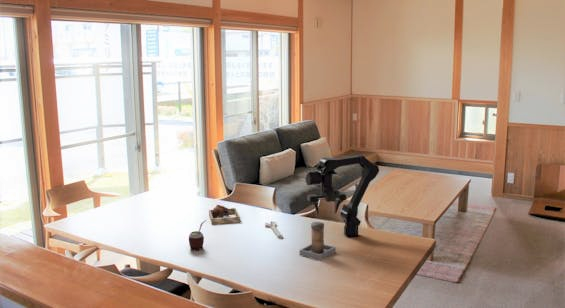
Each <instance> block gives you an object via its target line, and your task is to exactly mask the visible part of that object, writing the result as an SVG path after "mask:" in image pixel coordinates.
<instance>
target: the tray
mask: <svg viewBox="0 0 565 308" xmlns="http://www.w3.org/2000/svg"><path fill="white" fill-rule="evenodd" d="M334 253H336V246H334V245H328V244H324V252H323V253H322V254H317V253H313V252H312V243H311V244H309V245H307V246H305V247H303V248H301V249H299V256H302V255H303V257H306V256H308V257H307V258H310V257H311V258H310V259H314V258H315V259H314V260H317V259H318V261H322V260H324V259H326V258H328V257H330V256H331V255H333V254H334Z"/></svg>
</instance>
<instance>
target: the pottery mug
mask: <svg viewBox="0 0 565 308" xmlns="http://www.w3.org/2000/svg"><path fill="white" fill-rule="evenodd" d="M212 210H213V212H212V217H213V218H224V215H225V214H224V212H225V213H227V214H226V216H227V217H229V215H230V214H229V212H228V210H229V208H228V207H225V206H223V205H221V204H216V205H215V207H214V208H213V209H212ZM218 210H219V212H218Z"/></svg>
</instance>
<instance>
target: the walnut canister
mask: <svg viewBox="0 0 565 308" xmlns="http://www.w3.org/2000/svg"><path fill="white" fill-rule="evenodd" d="M310 228H311V244H312V252H313V253H317V254H322V253H323V252H324V245H325V239H324V238H325V233H324V232H325V230H324V229H325V223H324V222H322V221H313V222H311V224H310Z"/></svg>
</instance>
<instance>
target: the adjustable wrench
mask: <svg viewBox="0 0 565 308" xmlns="http://www.w3.org/2000/svg"><path fill="white" fill-rule="evenodd" d="M264 227H265V228H268V229H271V231H272V232H273V233H274V235H275V236H276V237H277V238H276V239H278V238H279V239H278V240H281V239H283V238H284V236H283V234H282V233H281V232H280V231H279V229H278V227H277V222H276V221H273V220H272V221H271V220H270V223H268V222H265V223H264Z"/></svg>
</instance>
